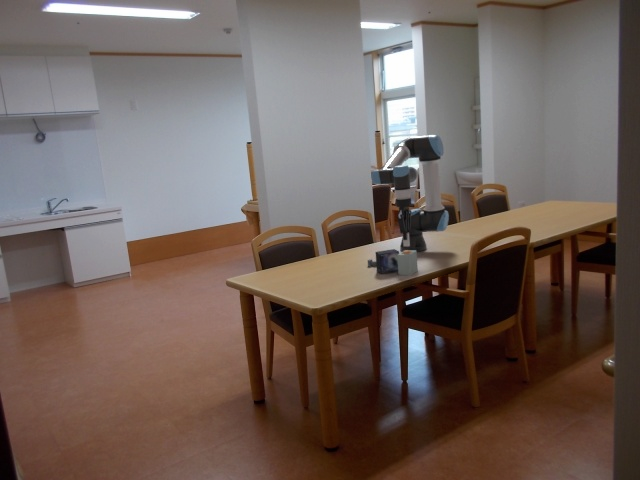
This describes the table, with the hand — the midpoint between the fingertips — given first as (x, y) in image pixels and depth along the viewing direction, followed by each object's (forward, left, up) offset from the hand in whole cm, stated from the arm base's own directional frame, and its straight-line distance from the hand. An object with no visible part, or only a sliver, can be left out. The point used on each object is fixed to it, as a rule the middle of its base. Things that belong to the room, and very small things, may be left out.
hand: (406, 246), depth 265 cm
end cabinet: (0, 0, -13) cm, 13 cm away
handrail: (-9, -14, -13) cm, 22 cm away
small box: (0, -10, -14) cm, 17 cm away
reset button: (0, 0, -8) cm, 8 cm away
